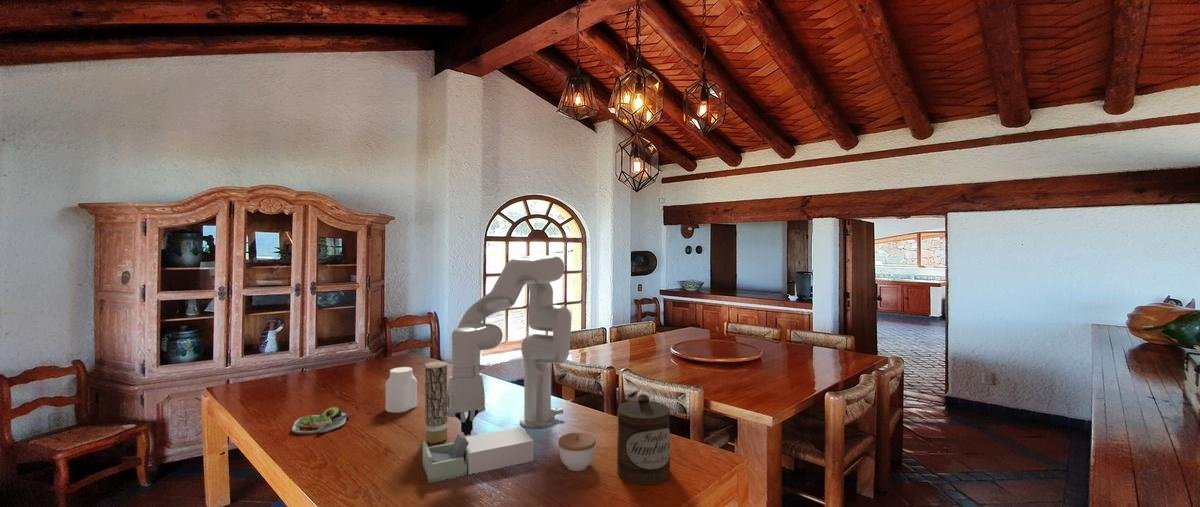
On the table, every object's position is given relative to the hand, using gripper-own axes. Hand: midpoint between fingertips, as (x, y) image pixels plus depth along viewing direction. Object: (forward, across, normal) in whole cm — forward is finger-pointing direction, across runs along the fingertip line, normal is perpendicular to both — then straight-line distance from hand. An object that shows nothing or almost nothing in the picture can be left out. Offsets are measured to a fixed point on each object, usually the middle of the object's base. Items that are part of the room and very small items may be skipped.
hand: (467, 433), depth 140 cm
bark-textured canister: (+10, +5, -23) cm, 25 cm away
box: (+9, +7, 0) cm, 11 cm away
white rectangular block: (+9, -8, 0) cm, 13 cm away
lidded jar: (+10, -28, +15) cm, 33 cm away
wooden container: (+10, -43, +27) cm, 52 cm away
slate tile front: (+5, +7, 0) cm, 9 cm away
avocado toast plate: (+10, +39, -56) cm, 69 cm away
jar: (+10, +12, -62) cm, 64 cm away
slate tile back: (+4, +2, 0) cm, 5 cm away
